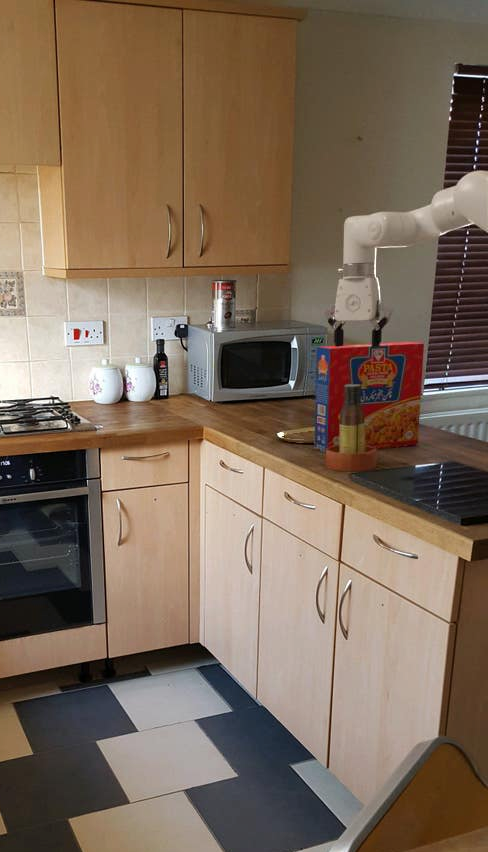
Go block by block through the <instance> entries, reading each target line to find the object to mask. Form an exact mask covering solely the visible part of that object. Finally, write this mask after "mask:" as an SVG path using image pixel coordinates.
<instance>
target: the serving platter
mask: <svg viewBox="0 0 488 852" xmlns="http://www.w3.org/2000/svg"><path fill="white" fill-rule="evenodd" d="M308 431H315V426H309V427H303V428H297V429H289V430H283V431H279V432H278V433H277V434H276V435H277V438H279V440H281V441H283V440H285V441H290V442H303V443H314V442H315V439H313V440H304V439H290V438H284V437H282V436H284V435H287V434H293V433H300V432H308ZM285 441H284V442H285Z"/></svg>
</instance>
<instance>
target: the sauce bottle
mask: <svg viewBox="0 0 488 852" xmlns="http://www.w3.org/2000/svg"><path fill="white" fill-rule="evenodd" d="M360 390H361V385H359V384H349V385H345V386H344V392H345V401H344V406H343V408H342V410H341V414H340V452H341V453H363V452H365V422H364V410H363V408H362V406H361V404H360Z"/></svg>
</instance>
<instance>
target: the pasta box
mask: <svg viewBox="0 0 488 852" xmlns="http://www.w3.org/2000/svg"><path fill="white" fill-rule="evenodd" d="M424 351H425V343H424V342H415V341H414V342H413V341H397V342H383V343H382V342H381V343H380V346H377V347H372V343H363V344H362V343H361V344H345V345H344V344H343V346H339V347H335V345H326V346H325V345H324V346H316V365H315V366H316V368H315V369H316V371H315V404H314V405H315V411H314V427H315V444H313V446H314V447H316V448H318V449H320V450H322V451H325V450H326V448H327V447H329V446H334V445H340V414H341V410H342V408H343V406H344V401H345V392H344V386H345V385H349V384H359V385H361V390H360V404H361V406H362V408H363V410H364V422H365V445H367V446H372V447H375V448H376V449H377V450H381V449H380V448H384V449H388V448H387V447H396V446H405V445H416V444H418V445H419V432H420V417H421V415H420V414H421V399H422V398H421V397H422V385H423V384H422V383H423V370H424V369H423V368H424V367H423V366H424ZM314 447H313V448H314ZM396 448H397V447H396ZM322 451H321V452H322Z"/></svg>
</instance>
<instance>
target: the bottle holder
mask: <svg viewBox="0 0 488 852" xmlns="http://www.w3.org/2000/svg"><path fill="white" fill-rule="evenodd" d="M377 453H378V449H376V448H375V447H372V446H367V445H365V452H363V453H341V452H340V445H334V446H329V447H327V448H326V450H325V453H324V466H325V467H324V468H326V469H329V470H331V471H336V472H337V471H338V472H365V471H366V472H367V471H371V470H374V469H375V468H377V458H378V457H377V455H378V454H377Z"/></svg>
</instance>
